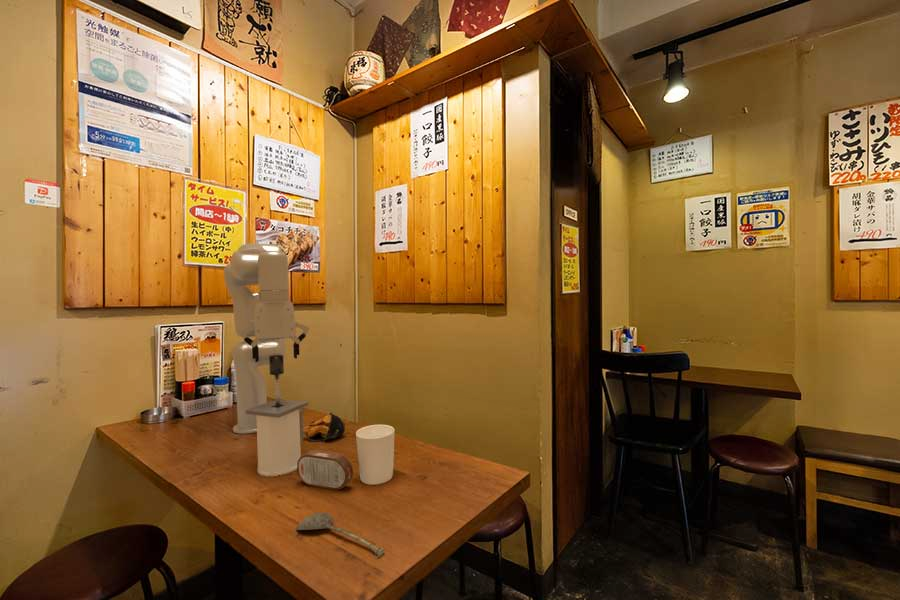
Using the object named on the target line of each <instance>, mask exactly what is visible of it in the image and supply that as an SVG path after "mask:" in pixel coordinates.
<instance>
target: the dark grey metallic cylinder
mask: <svg viewBox="0 0 900 600" xmlns="http://www.w3.org/2000/svg"><path fill="white" fill-rule="evenodd" d="M284 362H285V360H284V359H283V355H282V354H278V355H270V356H269V365H268V367H269V375H270V376H274V396H275V397H274V400H275V403H276V408H279V407H280V399H281V390H280V389H281V388H280V387H281V385H280V384H281V383H280V375H282V374H284V373H285V369H284V368H285V363H284Z"/></svg>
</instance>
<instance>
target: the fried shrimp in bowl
mask: <svg viewBox="0 0 900 600" xmlns="http://www.w3.org/2000/svg"><path fill="white" fill-rule="evenodd" d="M345 427H346V422H343V420H342V419H341V418H340V417H339V416H338V415H336V414H334V413H333V412H330V413H329V414H328V415H326V416H324V418H319V419H316V420H313V421H312V422H310V423H309V424H307V425H306V426H303V435H305V437H306V438H307V439H308V440H309V441H312V442H319V441H327V440H333V439H337V437H339V436H343V435H344V433H345V431H346V429H345Z"/></svg>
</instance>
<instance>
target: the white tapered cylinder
mask: <svg viewBox="0 0 900 600" xmlns="http://www.w3.org/2000/svg"><path fill="white" fill-rule="evenodd" d="M355 436H356V437H355V438H356V448H357V459H358V460H357V461H358V469H359V470H358V471H359V479H360V482H362V483H363V484H366V485H369V486H370V485H372V486H375V485H381V484H384V483H387V482H389V481H391V479H392V478H393V476H394V457H395V456H394V455H395V451H394V450H395V428H394V427H393V426H391V425H389V424H373V425H372V424H370V425H367V426H363V427H360V428H359V429H358V430H356V431H355Z"/></svg>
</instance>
